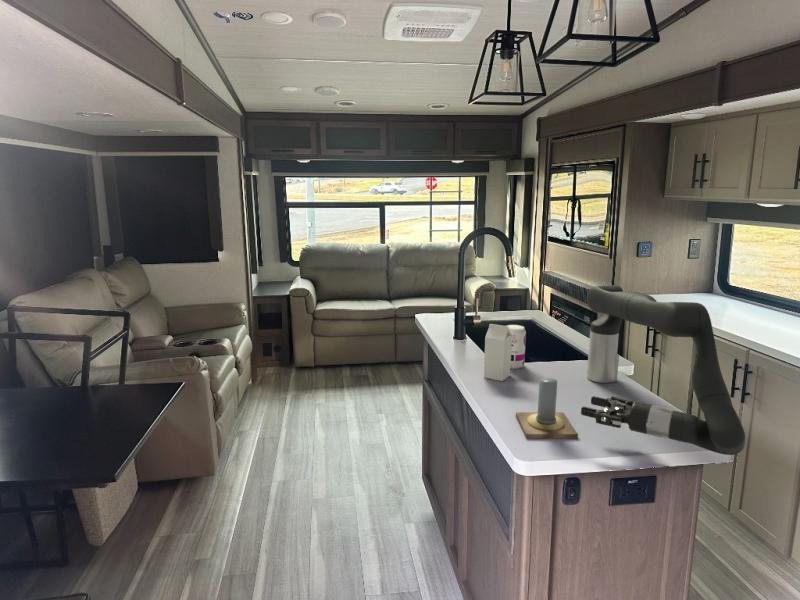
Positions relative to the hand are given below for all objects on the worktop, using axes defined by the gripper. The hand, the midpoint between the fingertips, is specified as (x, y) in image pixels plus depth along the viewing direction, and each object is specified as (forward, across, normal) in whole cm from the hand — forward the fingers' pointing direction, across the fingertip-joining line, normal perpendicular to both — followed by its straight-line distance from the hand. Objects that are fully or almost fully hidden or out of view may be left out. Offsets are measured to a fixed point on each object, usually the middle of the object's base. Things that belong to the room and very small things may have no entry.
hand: (586, 405), depth 146 cm
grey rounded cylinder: (+11, 0, +8) cm, 13 cm away
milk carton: (+40, -29, +9) cm, 50 cm away
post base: (+11, 0, +9) cm, 14 cm away
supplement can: (+40, -43, +9) cm, 60 cm away
